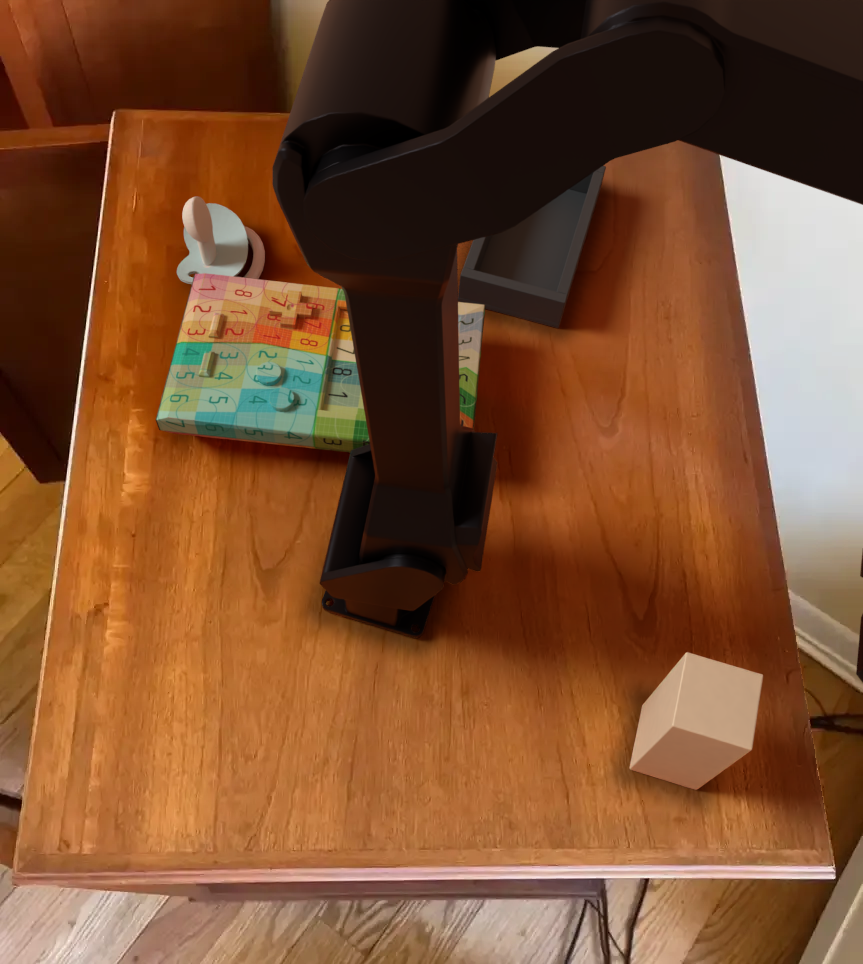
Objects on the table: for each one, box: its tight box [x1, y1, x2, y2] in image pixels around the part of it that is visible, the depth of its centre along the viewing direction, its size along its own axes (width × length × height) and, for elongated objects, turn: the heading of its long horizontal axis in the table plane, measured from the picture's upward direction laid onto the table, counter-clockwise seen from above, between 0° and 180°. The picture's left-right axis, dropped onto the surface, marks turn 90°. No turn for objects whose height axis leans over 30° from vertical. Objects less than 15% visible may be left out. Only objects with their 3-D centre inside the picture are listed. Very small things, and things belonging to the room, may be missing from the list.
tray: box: [458, 165, 607, 329], centre depth 75 cm, size 14×8×3 cm, turn 163°
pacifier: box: [176, 195, 266, 285], centre depth 72 cm, size 7×6×6 cm
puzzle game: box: [155, 273, 486, 453], centre depth 68 cm, size 12×5×20 cm
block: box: [629, 651, 764, 791], centre depth 55 cm, size 4×4×10 cm
